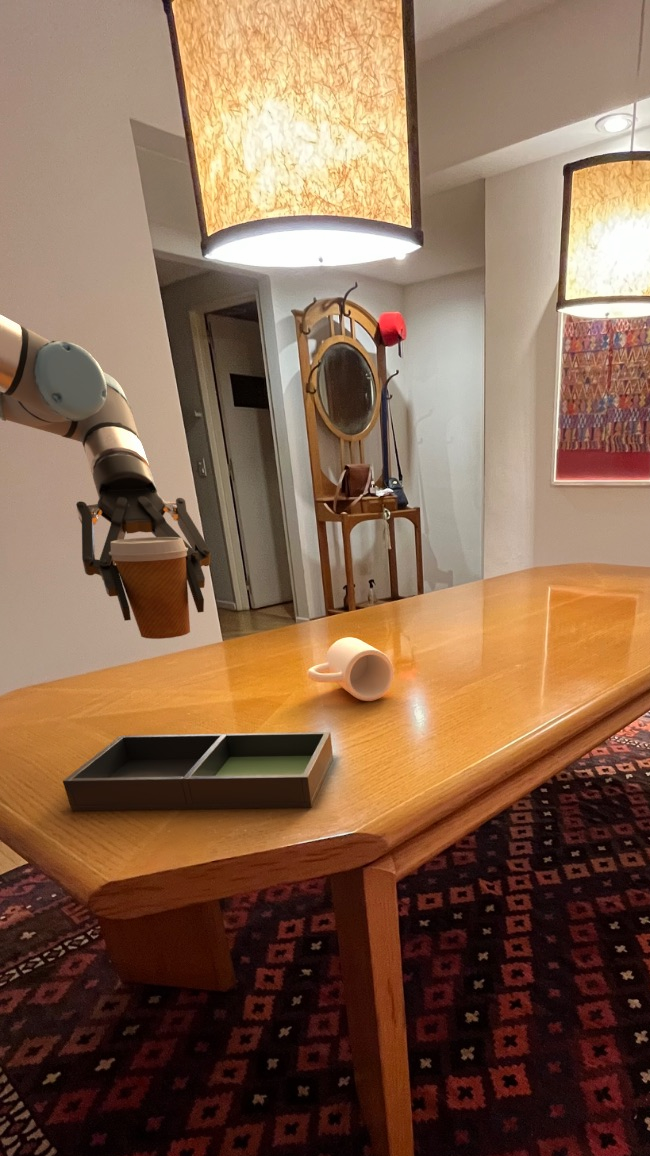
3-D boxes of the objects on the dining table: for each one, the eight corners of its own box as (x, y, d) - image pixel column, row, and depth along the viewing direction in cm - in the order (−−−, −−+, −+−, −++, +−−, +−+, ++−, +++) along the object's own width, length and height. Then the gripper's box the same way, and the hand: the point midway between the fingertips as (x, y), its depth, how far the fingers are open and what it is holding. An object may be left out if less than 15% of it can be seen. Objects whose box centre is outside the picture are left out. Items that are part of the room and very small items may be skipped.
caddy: (71, 811, 73) (62, 780, 71) (127, 762, 85) (120, 735, 83) (311, 807, 72) (307, 777, 70) (333, 758, 84) (330, 731, 82)
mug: (372, 681, 114) (369, 634, 110) (396, 696, 106) (392, 646, 102) (303, 692, 109) (297, 643, 106) (322, 709, 101) (316, 657, 98)
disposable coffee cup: (215, 627, 95) (200, 536, 90) (177, 643, 87) (157, 544, 81) (156, 625, 97) (137, 536, 92) (112, 640, 88) (89, 543, 83)
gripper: (200, 491, 101) (244, 617, 95) (40, 497, 92) (78, 637, 86) (201, 450, 94) (248, 583, 89) (28, 452, 85) (69, 600, 80)
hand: (164, 609), depth 87 cm, fingers closed on disposable coffee cup, 8 cm apart
